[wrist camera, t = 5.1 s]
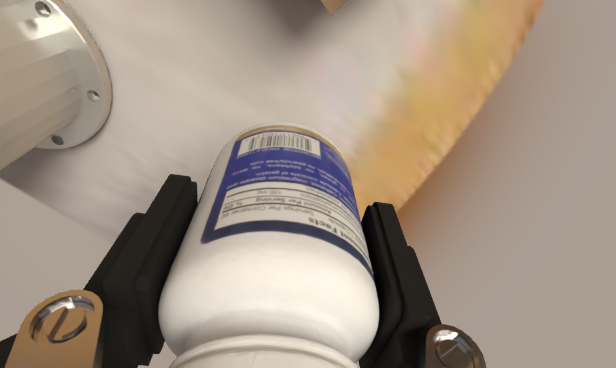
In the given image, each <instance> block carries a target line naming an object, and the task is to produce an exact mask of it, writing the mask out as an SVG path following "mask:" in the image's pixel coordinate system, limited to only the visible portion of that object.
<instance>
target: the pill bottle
mask: <svg viewBox="0 0 616 368" xmlns="http://www.w3.org/2000/svg"><path fill="white" fill-rule="evenodd" d="M158 319H159V325H160V329H161V332H162V335H163V337H164V339H165V341H166V343H167V345H168V346H169V348H170V349H171V350H172V352H173V353H174V354H175V355H176V356H177V358H176V360H174V361H173V362H172V364H171V365H170V367H169V368H358V366H357V365H356V364H355V363H356V362H357V361H358V360H359V359H360V358H361V357H362V356H363V355H364V354H365V352H366V351H367V350H368V348H369V347H370V345H371V343H372V341H373V339H374V337H375V335H376V332H377V328H378V323H379V303H378V297H377V292H376V286H375V281H374V275H373V271H372V267H371V262H370V259H369V255H368V250H367V245H366V241H365V237H364V234H363V230H362V225H361V221H360V217H359V212H358V208H357V204H356V199H355V195H354V190H353V186H352V182H351V177H350V173H349V169H348V166H347V163H346V161H345V159H344V157H343V155H342V153H341V152H340V150H339V149H338V148H337V146H336V145H335V144H334V143H333V142H332V141H331V140H330V139H329V138H327V137H326V136H325V135H323V134H322V133H320V132H318V131H317V130H315V129H312V128H310V127H308V126H304V125H301V124H297V123H291V122H268V123H263V124H259V125H255V126H253V127H250V128H248V129H246V130H244V131H242V132H241V133H239V134H238V135H236V136H235V137H233V138H232V139H231V140H230V141H229V142H228V143H227V144H226V145H225V146H224V148H223V149H222V150H221V152H220V153H219V155H218V157H217V159H216V162H215V164H214V166H213V168H212V171H211V173H210V176H209V178H208V180H207V183H206V185H205V188H204V190H203V193H202V195H201V197H200V200H199V202H198V205H197V207H196V210H195V212H194V214H193V217H192V219H191V221H190V224H189V226H188V228H187V231H186V233H185V235H184V238H183V240H182V242H181V245H180V247H179V249H178V252H177V254H176V256H175V259H174V261H173V263H172V266H171V268H170V271H169V274H168V276H167V279H166V282H165V284H164V287H163V290H162V293H161V296H160V300H159V306H158Z"/></svg>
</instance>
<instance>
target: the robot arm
mask: <svg viewBox="0 0 616 368" xmlns="http://www.w3.org/2000/svg"><path fill="white" fill-rule="evenodd" d="M111 101H112V95H111V82H110V78H109V74H108V70H107V67H106V64H105V62H104V60H103V57H102V55H101V53H100V51H99V48H98V47H97V45H96V44H95V42H94V40H93V39H92V37H91V35H90V34H89V32H88V31H87V29H86V28H85V27H84V26H83V24H82V23H81V22H80V21H79V19H78V18H77V17H76V16H75V14H74V13H73V12H72V11H71V10H70V9H69V8H68V7H67V6H66V5H65V4H64V3H63V2H62V1H61V0H0V170H2V169H3V168H5V167H6V166H8V165H9V164H11V163H12V162H14V161H15V160H17V159H18V158H20V157H21V156H23V155H24V154H26V153H27V152H29V151H30V150H32V149H33V148H42V149H64V148H68V147H73V146H76V145H78V144H80V143H82V142H84V141H86V140H88V139H89V138H90V137H91V136H93V135H94V134H95V133H97V131H98V130H99V129H100V128H101V127H102V126H103V125H104V123H105V121H106V119H107V117H108V115H109V112H110V106H111ZM197 205H198V202H197V183H196V182H192V181H191V178H190V177H189V176H182V175H175V174H170V175H169V176H168V178H167V180H166V181H165V183H164V184H163V186H162V188H161V189H160V191H159V193H158V194H157V196H156V197H155V199H154V201H153V202H152V204H151V205H150V207H149V209H148V210H147V212H146V213H145V214H143V213H136V214H134V215H133V216H132V217H131V219H130V220H129V222H128V223H127V225H126V226H125V228H124V229H123V231H122V232H121V234H120V235H119V237H118V238H117V240H116V241H115V243H114V244H113V246H112V247H111V249H110V250H109V252H108V253H107V255H106V256H105V258H104V259H103V261H102V262H101V264H100V265H99V267H98V268H97V270H96V271H95V273H94V274H93V276H92V277H91V279H90V280H89V282H88V283H87V285H86V286H85V288H84V289H83V290H70V291H66V292H61V293H58V294H56V295H54V296H51V297H49V298H47V299H45V300H44V301H42V302H41V303H40V304H38V305H37V306H35V307H34V308H33V309H32V310H31V311H30V312H29V314H28V315H27V316H26V317H25V319H24V321H23V322H22V324H21V326H20V329H19V331H18V333H17V334H15V335H13V336H11V337H9V338H7V339H5V340H2V341H0V368H137V367H138V365H145V366H148V365H149V363H150V361H151V358H152V356H153V354H159V353H160V352H161V350H162V347H163V344H164V342H165V339H164V337H163V335H162V332H161V329H160V325H159V319H158V306H159V300H160V296H161V293H162V290H163V287H164V284H165V282H166V279H167V276H168V274H169V271H170V268H171V266H172V263H173V261H174V259H175V256H176V254H177V252H178V249H179V247H180V245H181V242H182V240H183V238H184V235H185V233H186V231H187V228H188V226H189V224H190V221H191V219H192V217H193V214H194V212H195V210H196V207H197ZM361 225H362V230H363V234H364V237H365V241H366V245H367V250H368V255H369V259H370V262H371V267H372V271H373V275H374V281H375V286H376V292H377V297H378V303H379V323H378V328H377V332H376V335H375V337H374V339H373V341H372V343H371V345H370V347H369V348H368V350H367V351H366V352H365V354H364V355H363V356H362V357H361V358H360V359H359V366H360V368H486V363H485V360H484V356H483V354H482V352H481V350H480V349H479V347H478V346H477V344H476V343H475V342H474V341H473V340H472V338H471V337H469V336H468V335H467V334H465V333H464V332H463V331H462V330H459V329H458V328H456V327H454V326H450V325H446V324H442V323H441V321H440V318H439V315H438V313H437V310H436V307H435V305H434V302H433V299H432V297H431V294H430V291H429V288H428V286H427V283H426V281H425V278H424V275H423V272H422V270H421V267H420V264H419V262H418V259H417V256H416V253H415V251H414V249H413V248H412V247H411V246H407V243H406V240H405V238H404V235H403V232H402V229H401V226H400V223H399V221H398V218H397V215H396V212H395V209H394V207H393V205H392V204H387V203H380V202H374V203H373V205H372V206H370V205H369V206H367V208H366V211H365V213H364V216H363V219H362V221H361Z"/></svg>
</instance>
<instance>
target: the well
mask: <svg viewBox="0 0 616 368" xmlns="http://www.w3.org/2000/svg"><path fill="white" fill-rule="evenodd" d="M347 1H348V0H321V2H322V3H323V4H324V6H325V7H326V9H327V10H328V12H329V13H330V14H331V15H332V14H333V13H334V12H336V11H337V10H338V9H339V8H340V7H341V6H342V5H343V4H344V3H346V2H347Z"/></svg>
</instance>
